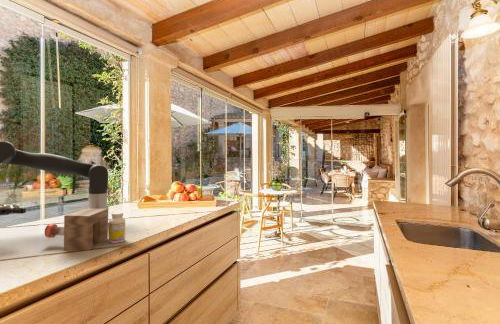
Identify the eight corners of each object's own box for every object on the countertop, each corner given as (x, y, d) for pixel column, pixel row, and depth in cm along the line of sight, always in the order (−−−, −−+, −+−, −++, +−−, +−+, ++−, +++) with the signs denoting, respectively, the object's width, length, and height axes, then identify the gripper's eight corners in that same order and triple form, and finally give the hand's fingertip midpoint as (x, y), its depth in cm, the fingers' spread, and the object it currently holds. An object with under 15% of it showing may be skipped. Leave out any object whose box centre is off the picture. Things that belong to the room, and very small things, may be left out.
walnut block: (60, 249, 114) (60, 215, 114) (82, 238, 130) (82, 208, 130) (88, 250, 115) (89, 216, 114) (107, 238, 131) (108, 208, 130)
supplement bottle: (112, 239, 131) (112, 211, 130) (127, 239, 131) (127, 211, 131) (106, 243, 124) (106, 214, 124) (121, 243, 124) (122, 214, 124)
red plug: (44, 239, 117) (44, 225, 117) (53, 235, 123) (53, 222, 123) (78, 239, 118) (78, 226, 118) (85, 236, 123) (86, 223, 123)
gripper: (-33, 202, 112) (12, 204, 113) (-4, 198, 126) (36, 199, 126) (-33, 221, 112) (11, 223, 113) (-4, 215, 126) (35, 216, 126)
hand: (24, 210), depth 119 cm, fingers closed
